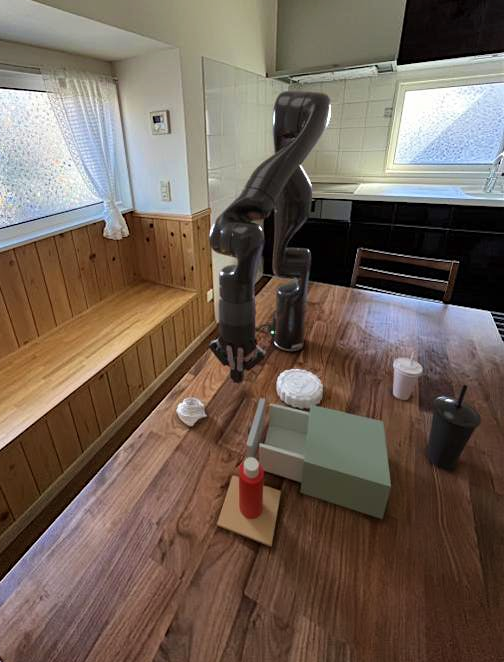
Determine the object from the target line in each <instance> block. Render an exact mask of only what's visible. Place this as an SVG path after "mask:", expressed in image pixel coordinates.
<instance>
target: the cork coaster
mask: <svg viewBox="0 0 504 662" xmlns="http://www.w3.org/2000/svg"><path fill="white" fill-rule="evenodd" d="M281 494H282V490H279V489H276V488H273V487H271V486H268V485H265V484H263V507H262V513H261V515H260V516H259V517H257V518H255V519H248V518H246V517H245V516H243V515H242V513H241V511H240V509H239V476H238V475H234V474H232V476H231V479H230V483H229V485H228V489H227V492H226V495H225V498H224V501H223V504H222V508H221V511H220V513H219V518H218V520H217V522H216V526H217V527H219V528H222V529H224V530H227V531H230V532H232V533H233V534H234V533H235V534H237V535H240V536H241V537H244V538H247V539H250V540H253V541H255V542H257V543H260V544H263V545H265V546H268V547H270V548H272V546H273V542H274V536H275V530H276V523H277V517H278V511H279V507H280V501H281Z"/></svg>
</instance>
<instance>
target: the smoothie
mask: <svg viewBox="0 0 504 662" xmlns="http://www.w3.org/2000/svg"><path fill="white" fill-rule="evenodd" d="M415 355H416V351H415V350H412V353H411V356H410V358H408V357H398V358H395V359H394V361H393V363H392V367H393V384H392V395H393V396H394V397H395V398H397V399H398V400H401V401H407V400H409V399H410V396H411V394H412V392H413V390H414V388H415V386H416V383H417V381H418V380H419V378H420V376H421V375H422V374H423V371H424V370H423V369H424V368H423V367H422V365H421V364H420V363H419V362H418V361H416V360H414V359H415Z"/></svg>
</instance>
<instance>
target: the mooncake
mask: <svg viewBox="0 0 504 662" xmlns="http://www.w3.org/2000/svg"><path fill="white" fill-rule="evenodd" d="M276 392H277V396H278V397H280V400H281V401H282V402H285V404H286V405H288V406H291V408H298V409H299V410H303V409H307V410H308V409H309V410H310V406H311V405H314V406H317V405H320V403H321V401H322V400H323V395H324V385H323V383H322V380H321V379H320V378H318V376H317V375H316V374H313V372H311V371H307V370H306V369H300V368H296V369H294V368H290V369H288V370H286V369H285V370H284V371H283V372H281V373H280V374H279V375H278V376H277V381H276Z"/></svg>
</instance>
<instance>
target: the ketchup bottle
mask: <svg viewBox="0 0 504 662" xmlns="http://www.w3.org/2000/svg"><path fill="white" fill-rule="evenodd" d="M264 472H265V471H263V468H262V466H261V465H260V464H259V460H257V459H256V457H255V458H252V457H249V458H247V459H246V458H245V460H244V461H243V462H241V464H240V465H239V468H238V477H239V509H240V511H241V513H242V515H243V516H245V517H246V518H248V519H255V518H257V517H259V516H260V515H261V513H262V507H263V485H264V479H265V477H264V475H265V473H264Z"/></svg>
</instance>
